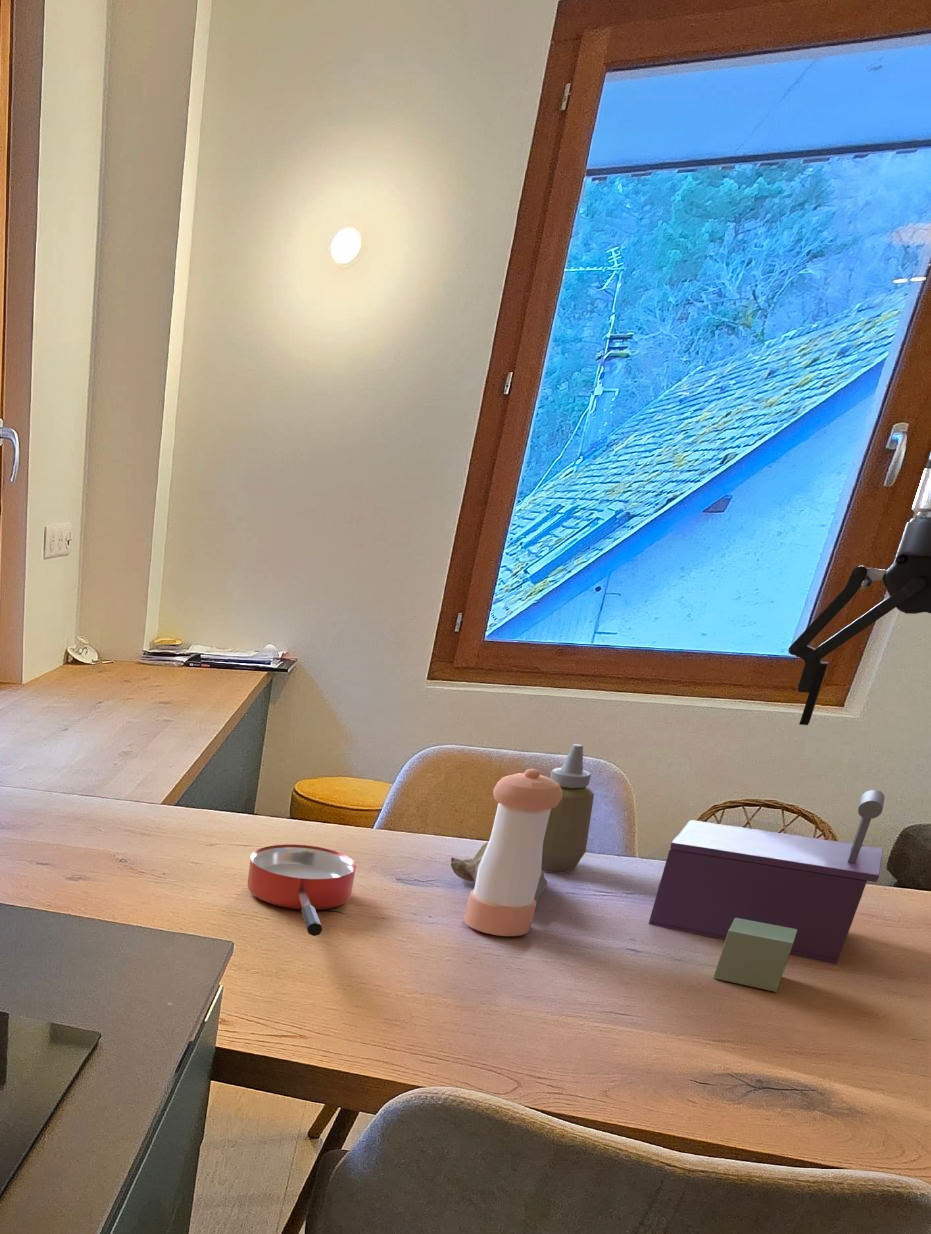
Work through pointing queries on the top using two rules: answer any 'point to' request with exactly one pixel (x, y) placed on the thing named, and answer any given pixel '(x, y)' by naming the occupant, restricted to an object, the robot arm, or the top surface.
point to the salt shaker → (513, 855)
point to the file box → (757, 901)
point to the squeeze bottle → (568, 816)
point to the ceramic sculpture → (470, 867)
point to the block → (755, 954)
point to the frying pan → (301, 879)
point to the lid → (791, 845)
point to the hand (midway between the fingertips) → (883, 731)
